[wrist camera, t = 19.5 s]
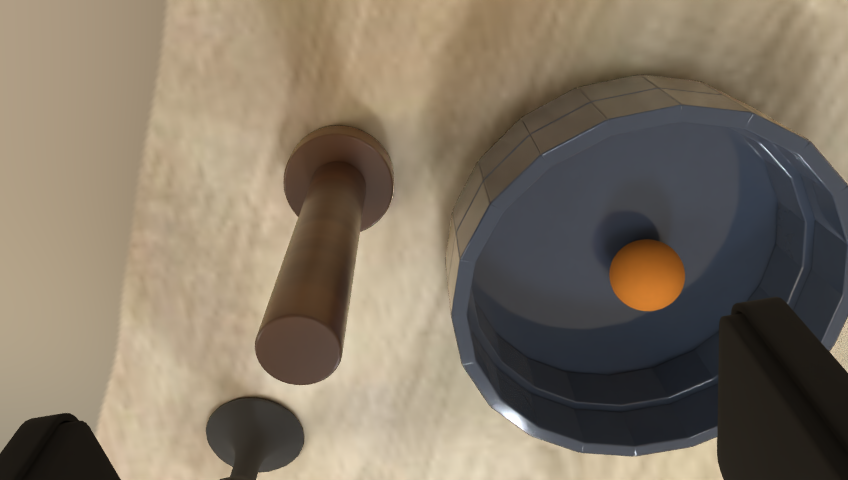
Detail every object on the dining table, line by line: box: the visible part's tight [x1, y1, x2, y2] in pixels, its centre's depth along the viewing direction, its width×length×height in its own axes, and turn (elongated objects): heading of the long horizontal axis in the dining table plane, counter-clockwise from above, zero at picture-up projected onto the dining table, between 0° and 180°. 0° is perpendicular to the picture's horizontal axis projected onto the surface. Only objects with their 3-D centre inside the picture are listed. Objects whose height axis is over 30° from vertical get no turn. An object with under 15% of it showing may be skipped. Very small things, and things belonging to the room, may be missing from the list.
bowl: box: [445, 75, 848, 456], centre depth 27 cm, size 15×15×5 cm
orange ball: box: [609, 239, 685, 311], centre depth 28 cm, size 3×3×3 cm
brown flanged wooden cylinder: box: [255, 126, 394, 385], centre depth 22 cm, size 4×4×12 cm
